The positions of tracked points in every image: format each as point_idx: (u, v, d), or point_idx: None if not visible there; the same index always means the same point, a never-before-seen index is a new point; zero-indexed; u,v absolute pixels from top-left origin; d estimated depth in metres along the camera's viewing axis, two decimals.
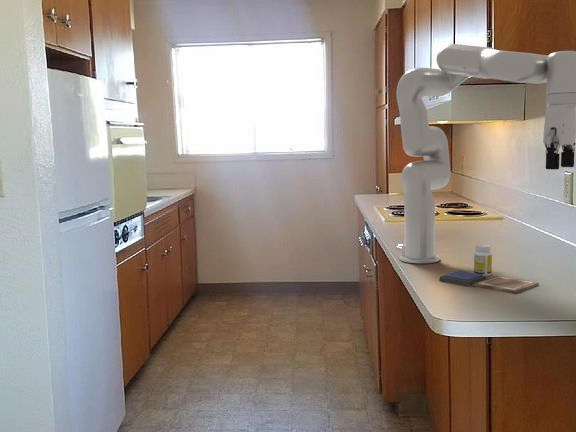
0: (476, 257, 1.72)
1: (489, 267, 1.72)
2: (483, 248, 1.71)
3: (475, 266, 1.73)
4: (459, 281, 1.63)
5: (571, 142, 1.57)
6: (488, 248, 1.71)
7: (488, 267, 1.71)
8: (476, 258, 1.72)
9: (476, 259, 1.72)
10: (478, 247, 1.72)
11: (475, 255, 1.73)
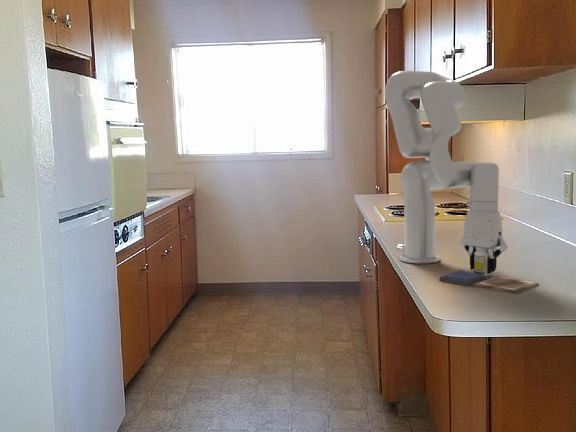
0: (476, 257, 1.72)
1: None
2: (483, 248, 1.71)
3: (475, 266, 1.73)
4: (459, 281, 1.63)
5: None
6: None
7: None
8: (476, 258, 1.72)
9: (476, 259, 1.72)
10: (478, 247, 1.72)
11: (475, 255, 1.73)
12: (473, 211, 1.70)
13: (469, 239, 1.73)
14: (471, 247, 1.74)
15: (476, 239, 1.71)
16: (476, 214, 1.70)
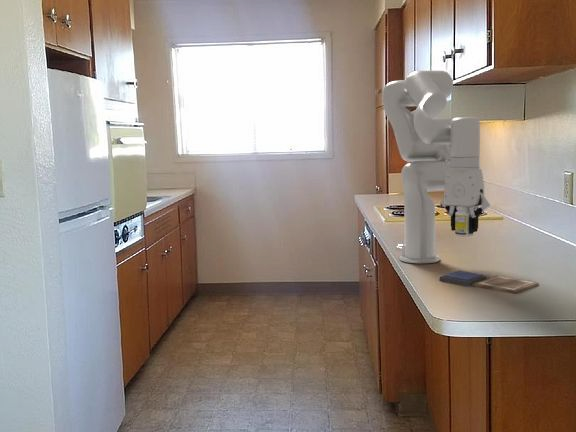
0: (457, 217, 1.64)
1: None
2: (464, 207, 1.63)
3: (456, 226, 1.65)
4: (459, 281, 1.63)
5: None
6: None
7: None
8: (457, 218, 1.64)
9: (457, 219, 1.64)
10: (459, 206, 1.63)
11: (456, 215, 1.64)
12: (453, 168, 1.62)
13: (449, 198, 1.64)
14: (452, 207, 1.66)
15: (456, 197, 1.63)
16: (456, 171, 1.62)
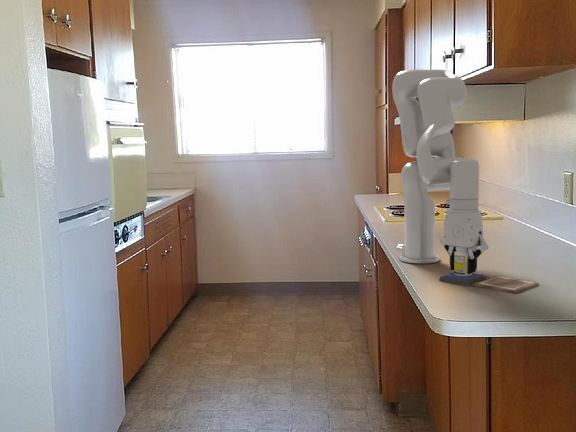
0: (456, 257, 1.66)
1: None
2: None
3: (455, 266, 1.66)
4: (459, 281, 1.63)
5: None
6: None
7: None
8: (456, 258, 1.66)
9: (456, 259, 1.66)
10: None
11: (455, 255, 1.66)
12: (452, 209, 1.63)
13: (449, 238, 1.66)
14: (451, 247, 1.67)
15: (455, 238, 1.64)
16: (456, 212, 1.64)
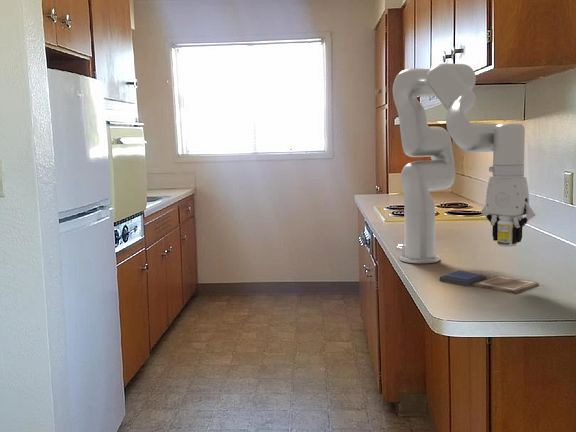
0: (500, 226, 1.58)
1: None
2: (508, 216, 1.57)
3: (499, 236, 1.59)
4: (459, 281, 1.63)
5: None
6: None
7: None
8: (500, 227, 1.58)
9: (500, 228, 1.58)
10: None
11: (499, 224, 1.58)
12: (497, 176, 1.56)
13: (492, 207, 1.58)
14: (494, 216, 1.60)
15: (499, 207, 1.57)
16: (500, 179, 1.56)
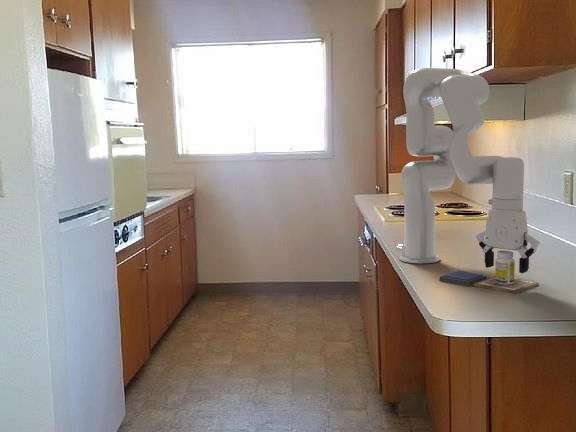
0: (498, 264, 1.60)
1: (512, 275, 1.59)
2: (505, 255, 1.58)
3: (496, 274, 1.60)
4: (459, 281, 1.63)
5: None
6: (511, 255, 1.59)
7: (511, 275, 1.59)
8: (498, 265, 1.60)
9: (498, 266, 1.60)
10: (500, 253, 1.59)
11: (497, 262, 1.60)
12: (496, 210, 1.57)
13: (491, 240, 1.60)
14: None
15: (499, 240, 1.58)
16: (499, 213, 1.57)
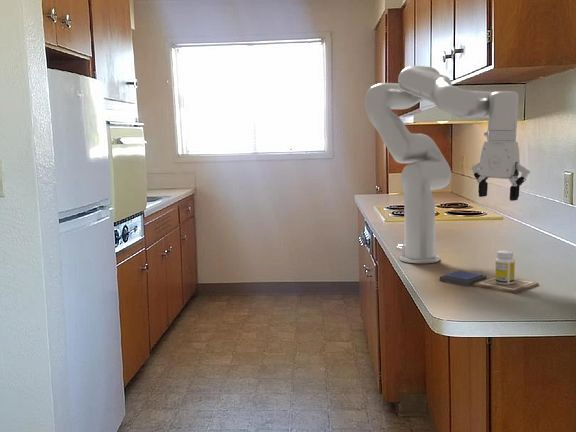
0: (498, 264, 1.60)
1: (512, 275, 1.59)
2: (505, 255, 1.58)
3: (496, 274, 1.60)
4: (459, 281, 1.63)
5: None
6: (511, 255, 1.59)
7: (511, 275, 1.59)
8: (498, 265, 1.60)
9: (498, 266, 1.60)
10: (500, 253, 1.59)
11: (497, 262, 1.60)
12: (490, 140, 1.66)
13: (485, 170, 1.70)
14: None
15: (492, 169, 1.68)
16: (493, 143, 1.67)
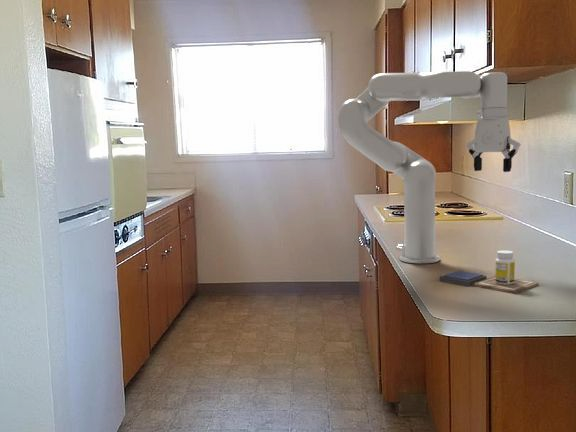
0: (498, 264, 1.60)
1: (512, 275, 1.59)
2: (505, 255, 1.58)
3: (496, 274, 1.60)
4: (459, 281, 1.63)
5: None
6: (511, 255, 1.59)
7: (511, 275, 1.59)
8: (498, 265, 1.60)
9: (498, 266, 1.60)
10: (500, 253, 1.59)
11: (497, 262, 1.60)
12: (483, 118, 1.82)
13: (479, 145, 1.85)
14: (475, 150, 1.88)
15: (485, 144, 1.83)
16: (486, 120, 1.82)
